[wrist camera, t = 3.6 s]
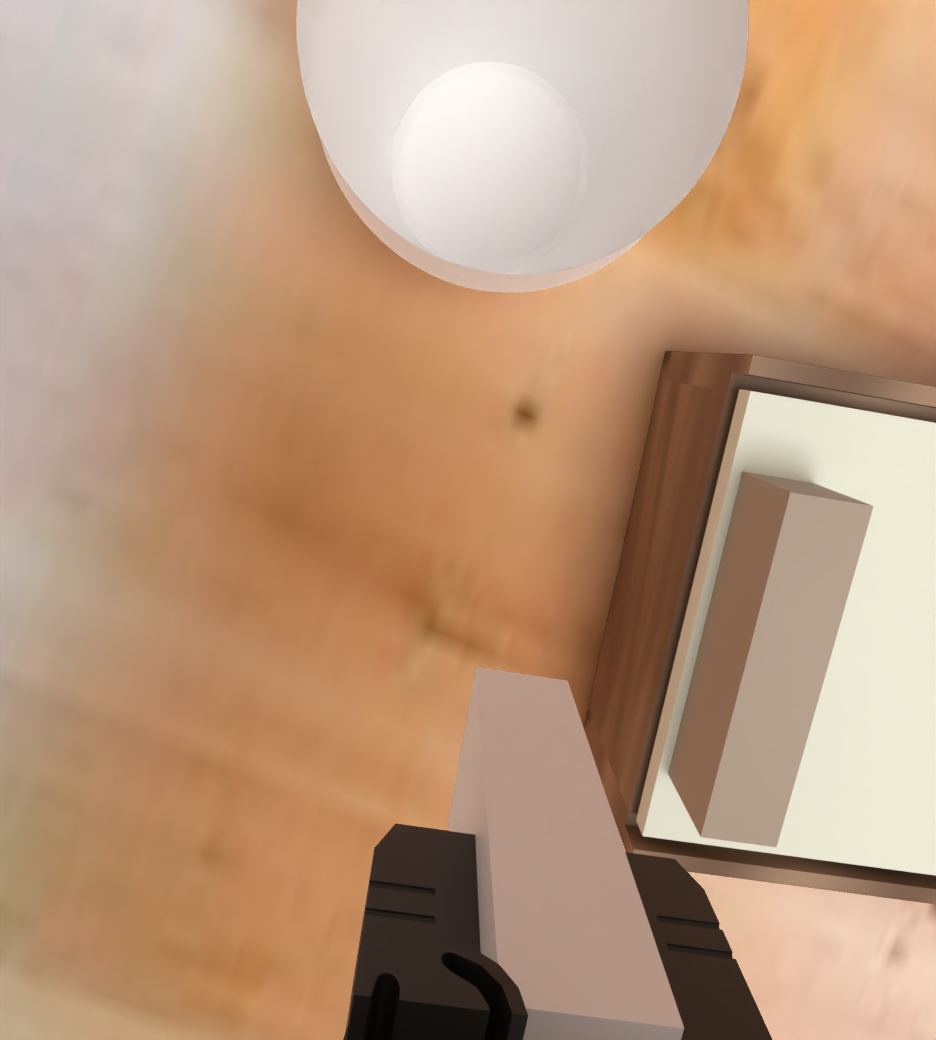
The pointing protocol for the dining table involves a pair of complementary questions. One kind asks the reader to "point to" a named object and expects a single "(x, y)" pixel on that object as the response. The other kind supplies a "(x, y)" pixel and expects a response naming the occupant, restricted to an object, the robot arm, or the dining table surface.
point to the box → (667, 586)
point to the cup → (519, 124)
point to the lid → (808, 646)
